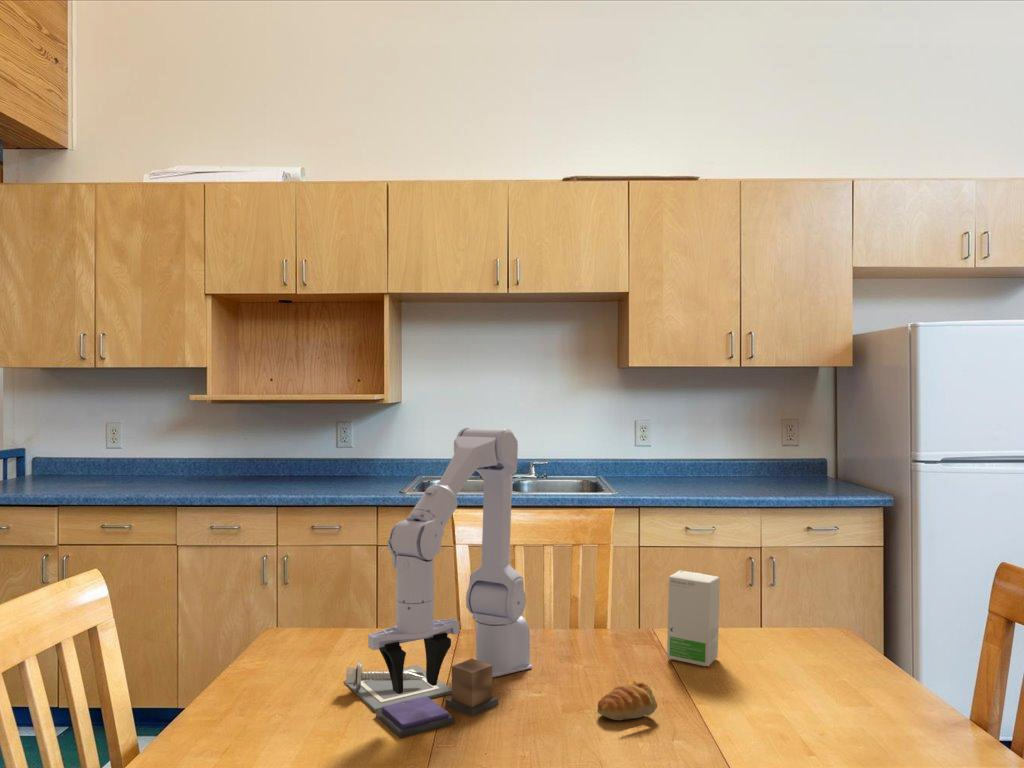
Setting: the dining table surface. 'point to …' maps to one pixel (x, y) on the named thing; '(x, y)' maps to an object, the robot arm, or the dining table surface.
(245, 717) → the dining table surface
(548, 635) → the dining table surface
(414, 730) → the ink pad
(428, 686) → the marked board
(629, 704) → the pastry
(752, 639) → the dining table surface
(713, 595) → the skincare box
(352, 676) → the screw
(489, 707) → the stamp
